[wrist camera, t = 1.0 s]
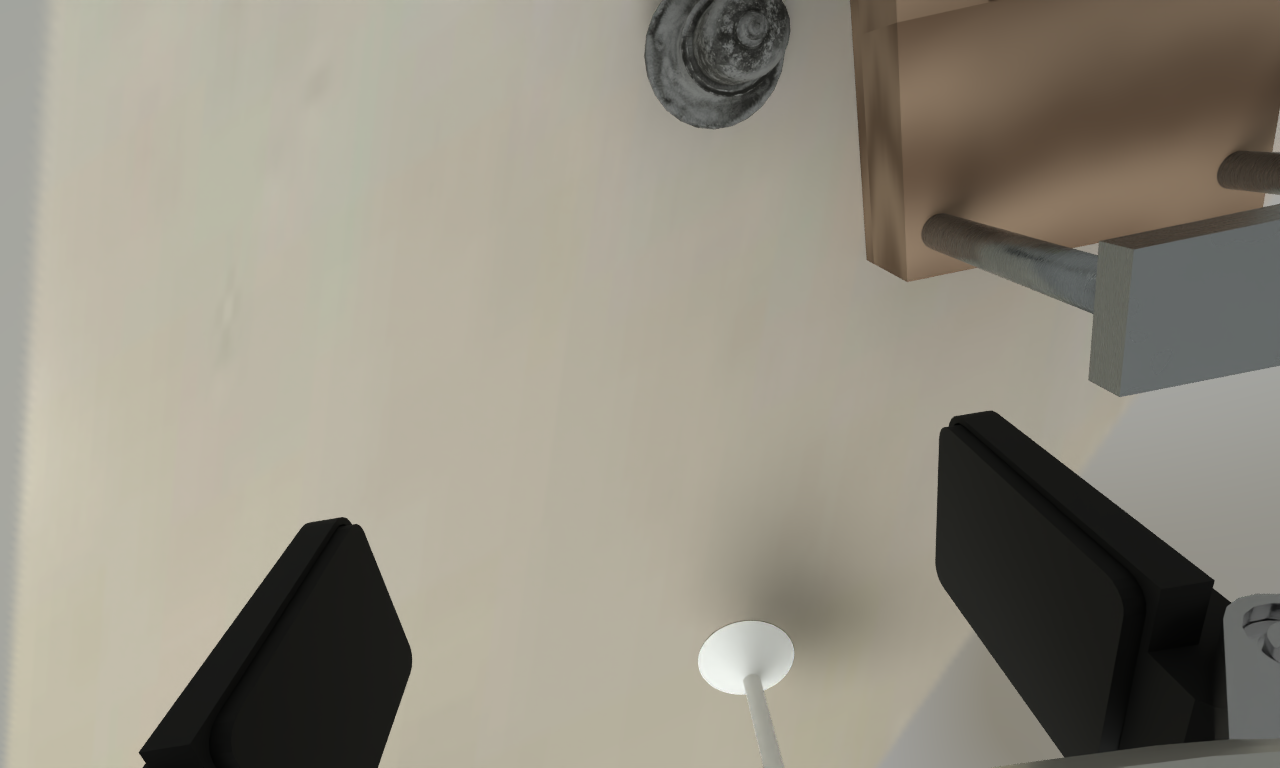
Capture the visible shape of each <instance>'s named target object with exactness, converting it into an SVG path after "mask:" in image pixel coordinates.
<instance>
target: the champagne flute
mask: <svg viewBox="0 0 1280 768" xmlns="http://www.w3.org/2000/svg"><path fill="white" fill-rule="evenodd" d="M793 660H794V647H793V644H792V642H791V640H790V638H789V637H788V636H787V634H786V633H785V632H783V631H782V630H781V629H780V628H778V627H776V626H774V625H772V624H769V623H766V622H760V621H742V622H736V623H733V624H730V625H727V626H725V627H723V628H721V629H719V630H717V631H716V632H715V633H714V634H712V635H711V636H710V637H709V638H708V639H707V640H706V641H705V643H704V644H703V646H702V648H701V650H700V653H699V657H698V665H699V670H700V672H701V674H702V677H703V678H704V679H705V680H706V681H707V683H709V684H710V685H711V686H713V687H714V688H716V689H718V690H720V691H723V692H726V693H730V694H738V695H739V694H746V696H747V701H748V705H749V709H750V713H751V717H752V722H753V726H754V730H755V734H756V738H757V743H758V747H759V751H760V755H761V759H762V764H763V768H784V764H783V760H782V757H781V753H780V749H779V745H778V742H777V738H776V734H775V731H774V727H773V723H772V720H771V716H770V712H769V708H768V705H767V701H766V697H765V694H764V690H766V689H768V688H770V687H772V686H774V685H775V684H776V683H778V682H779V681H781V680H782V679H783V678H784V676H785V675H786V674H787V673H788V671H789V670H790V668H791V666H792V663H793Z"/></svg>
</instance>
